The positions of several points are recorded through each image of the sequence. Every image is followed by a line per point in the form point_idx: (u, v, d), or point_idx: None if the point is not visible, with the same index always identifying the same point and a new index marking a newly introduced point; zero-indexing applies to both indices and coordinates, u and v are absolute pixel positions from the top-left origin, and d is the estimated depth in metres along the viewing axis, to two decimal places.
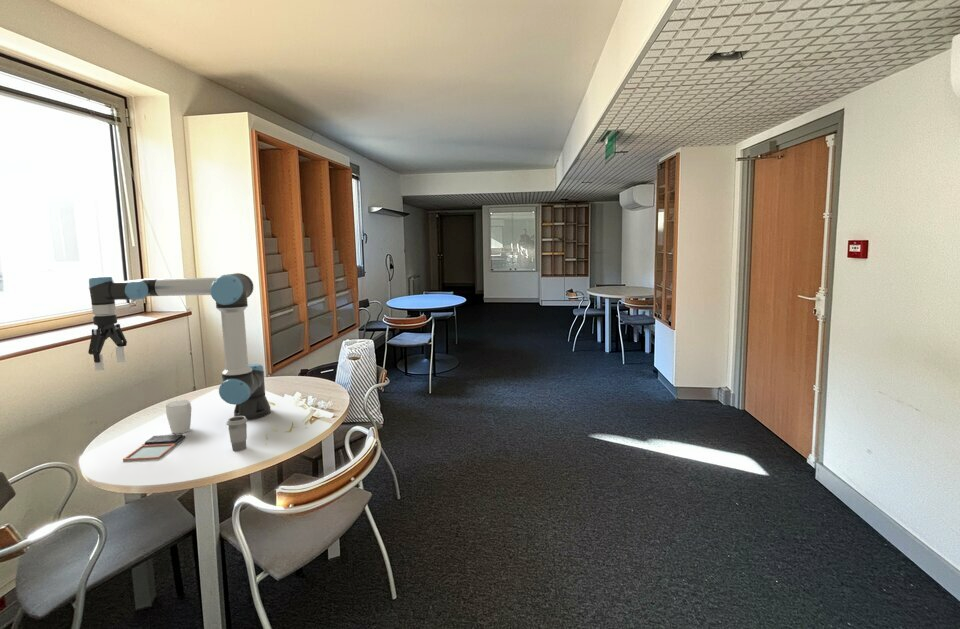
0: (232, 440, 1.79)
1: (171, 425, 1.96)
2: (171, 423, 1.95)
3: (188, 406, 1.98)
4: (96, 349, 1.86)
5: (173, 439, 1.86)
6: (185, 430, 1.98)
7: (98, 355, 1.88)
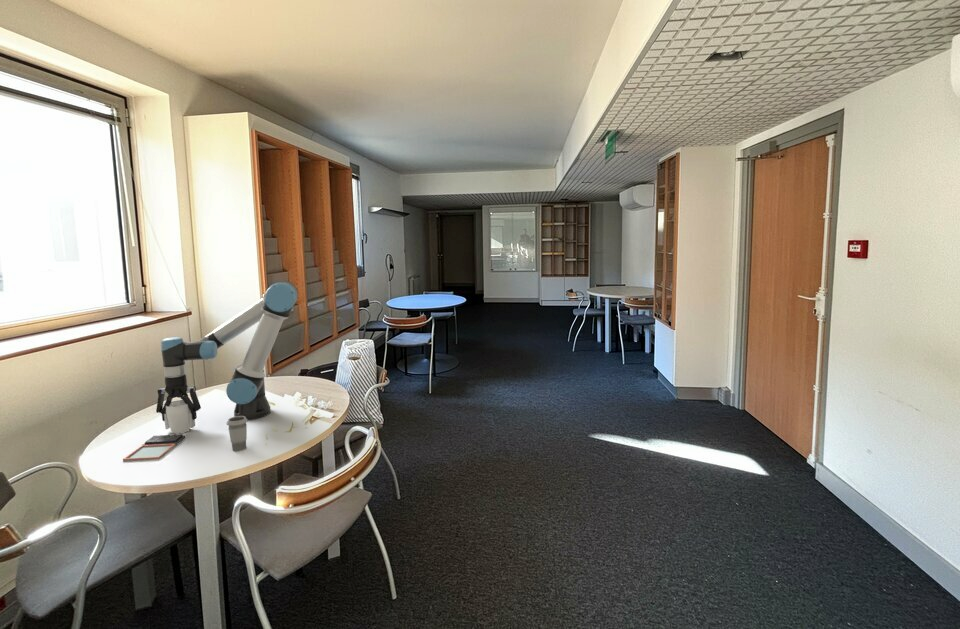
0: (232, 440, 1.79)
1: (171, 425, 1.96)
2: (171, 423, 1.95)
3: None
4: (157, 408, 1.96)
5: (173, 439, 1.86)
6: (185, 430, 1.98)
7: (163, 414, 1.97)
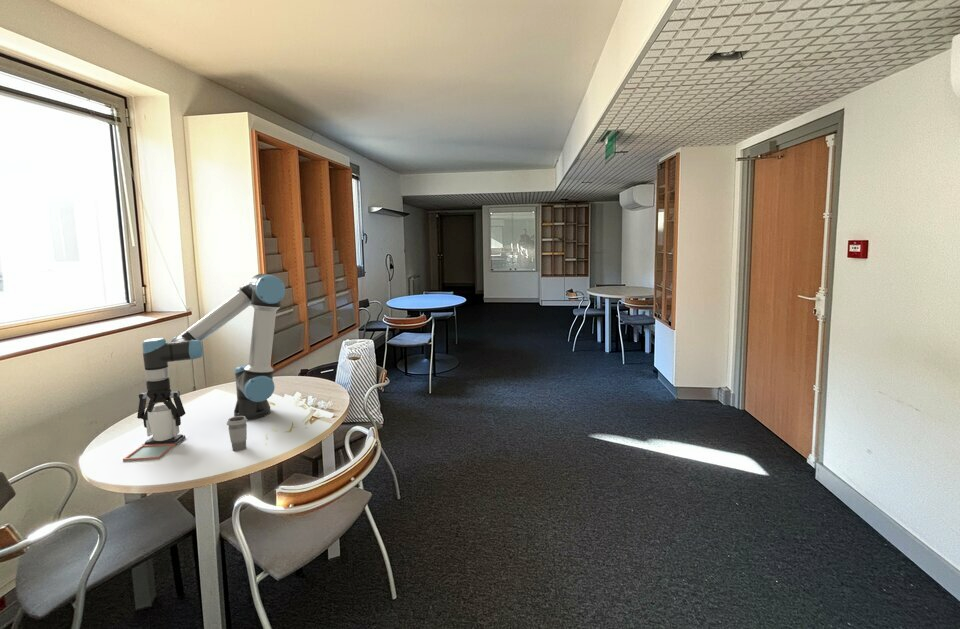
0: (232, 440, 1.79)
1: (153, 432, 1.84)
2: (153, 430, 1.83)
3: None
4: (139, 414, 1.84)
5: (173, 439, 1.86)
6: (168, 437, 1.86)
7: (145, 420, 1.85)
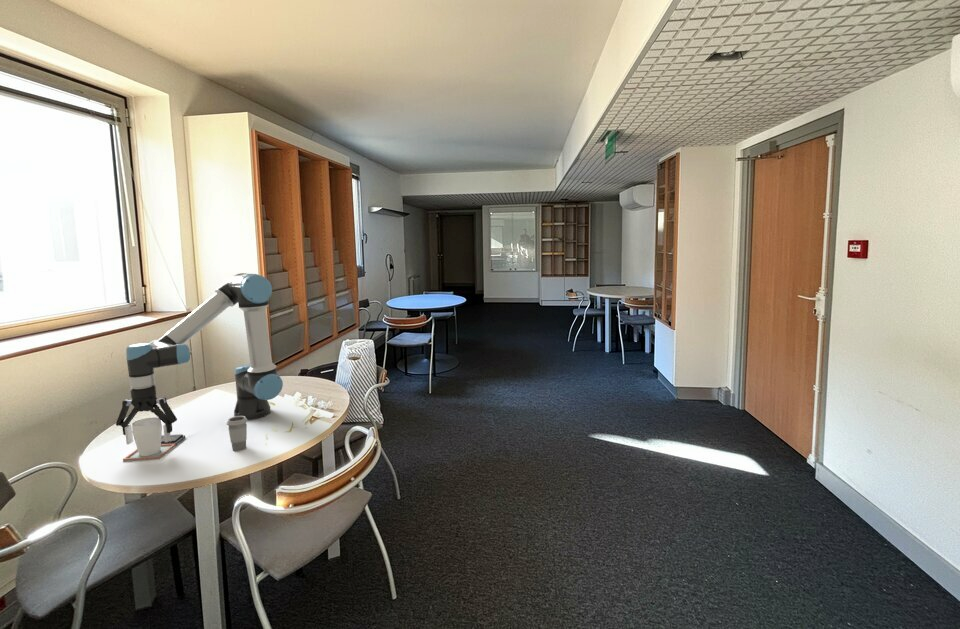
0: (232, 440, 1.79)
1: (138, 446, 1.74)
2: (138, 444, 1.74)
3: (158, 425, 1.76)
4: (118, 421, 1.74)
5: (173, 439, 1.86)
6: (154, 452, 1.76)
7: (124, 428, 1.75)
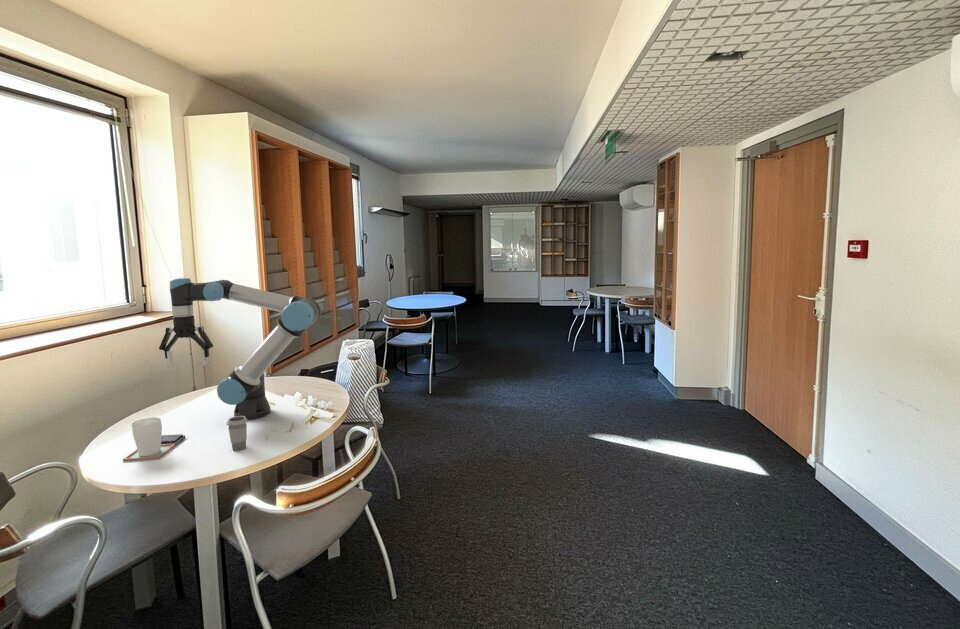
0: (232, 440, 1.79)
1: (138, 446, 1.74)
2: (138, 444, 1.74)
3: (158, 425, 1.76)
4: (161, 346, 1.98)
5: (173, 439, 1.86)
6: (154, 452, 1.76)
7: (166, 352, 1.99)
